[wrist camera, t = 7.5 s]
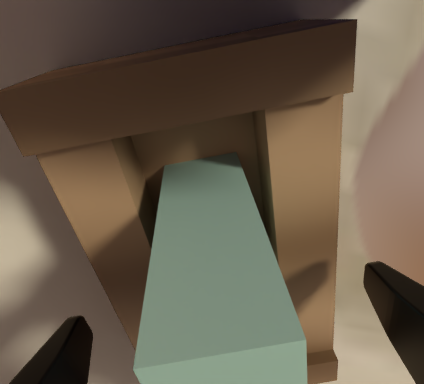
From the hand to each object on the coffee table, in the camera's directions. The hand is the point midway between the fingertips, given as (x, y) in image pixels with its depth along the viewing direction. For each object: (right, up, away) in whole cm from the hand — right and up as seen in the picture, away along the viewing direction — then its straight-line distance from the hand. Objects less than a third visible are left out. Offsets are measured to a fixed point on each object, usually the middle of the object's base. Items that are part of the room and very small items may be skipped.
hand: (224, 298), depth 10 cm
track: (0, +2, +3) cm, 4 cm away
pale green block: (0, +2, +3) cm, 3 cm away
